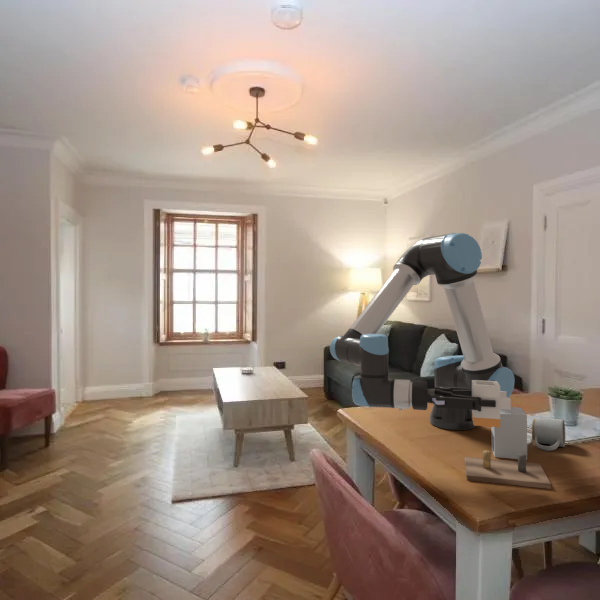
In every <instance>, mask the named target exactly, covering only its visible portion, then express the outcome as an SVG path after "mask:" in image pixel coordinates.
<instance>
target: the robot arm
mask: <svg viewBox="0 0 600 600" xmlns="http://www.w3.org/2000/svg"><path fill="white" fill-rule="evenodd" d="M482 257H483V254H482V249H481V246H480V245H479V242H478V241H477V240H476V239H475V238H474V236H472V235H469V234H468V233H464V232H459V233H457V232H455V233H454V232H451V233H447V234H441V235H436V236H429V237H425V238H422V239H420V240H417V241H416V242H415V243H414V244H412V245H411V246H410V247H409V248H408V249H407V250H406V251H405V252H404V253H403V254H402V255H401V256H400V257H399V259H398V260H397V261H396V262H395V264H394V265H393V267H392V270H393V271H392V273H391V274H390V275H389V276H388V278H387V279H386V280H385V282H383V284H382V286H380V288H379V290H377V291H376V294H374V296H373V298H372V299H371V300H370V301H369V302H368V304H367V305H366V306H365V307H364V309H363V310H362V312H361V313H360V314H359V315H358V317H357V318H356V319H355V321H353V323H352V324H351V325H350V326H349V328H348V330H347V331H346V332H345V333H344V334H343V335H339V336H336V337H334V338H333V339H332V340H331V342H330V346H329V352H330V354H331V357H332V358H334V359H335V360H337V361H339V362H341V363H344V364H350V365H354V366H357V367H359V368H360V369H359V371H360V375H359V377H355V378H354V379H353V380H352V386H351V387H352V389H351V399H352V402H353V403H354V404H355V405H356V406H361V407H369V408H387V409H388V408H389V409H398V411H403V410H410V409H411V408H412V409H413V410H416V411H427V410H428V404H432V407H431V408H432V409H431V410H430V414H429V423H430V424H431V425H432V426H434V427H437V428H441V429H444V430H451V431H466V430H467V431H468V430H472V429H475V428H477V426H475V425H473V420H472V410H478V411H481V408H491V409H507V410H511V407H512V404H511V403H512V402H511V401H512V400H511V396H512V393H513V391H514V389H515V382H516V381H515V375H514V374H515V373H514V372H513V371H512V370H511V369H509V367H506V366H503V363H502V360H501V357H500V356H499V354H497V353H495V352H494V351H493V348H492V343H491V340H490V336H489V333H488V328H487V325H486V321H485V317H484V313H483V309H482V306H481V304H480V303H481V302H480V298H479V295H478V291H477V289H476V288H477V287H476V284H475V279H476V277H477V275H478V269H479V268H480V266H481V263H482V261H481V260H482ZM431 275H433V276H435V279H436V283H437V285H439V286H440V287H441V288H443V289H444V291H445V296H446V299H447V302H448V307H449V310H450V313H451V316H452V320H453V324H454V327H455V331H456V333H457V334H456V335H457V338H458V341H459V344H460V348H461V352H462V355H446V356H440V357H437V358H436V359H435V360H434V368H433V370H434V371H433V375H434V376H433V377H434V388H428V382H427V381H426V380H418V379H417V380H413V381H411V380H410V379H398V378H397V379H394V378H393V379H391V378H389V354H390V353H389V352H390V348H389V338H388V336H387V335H386V334H382V333H379V332H380V330H381V329H382V327H383V326H384V324H386V323H387V321H388V320H389V318H390V317H391V316H392V314H393V313H394V312H395V310H396V309H397V308H398V306H399V305H400V304H401V303H402V301H403V300H404V298H405V297H406V295H408V293H409V292H410V290H411V289H412V288H413V287H414V286H417V285H419V284H420V282H421V281H422V280H423V279H424V278H426V277H428V276H431ZM472 380H482V381H497V382H498V384H499V385H500V397H487V396H481V398H480V397H473V396H472Z"/></svg>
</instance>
